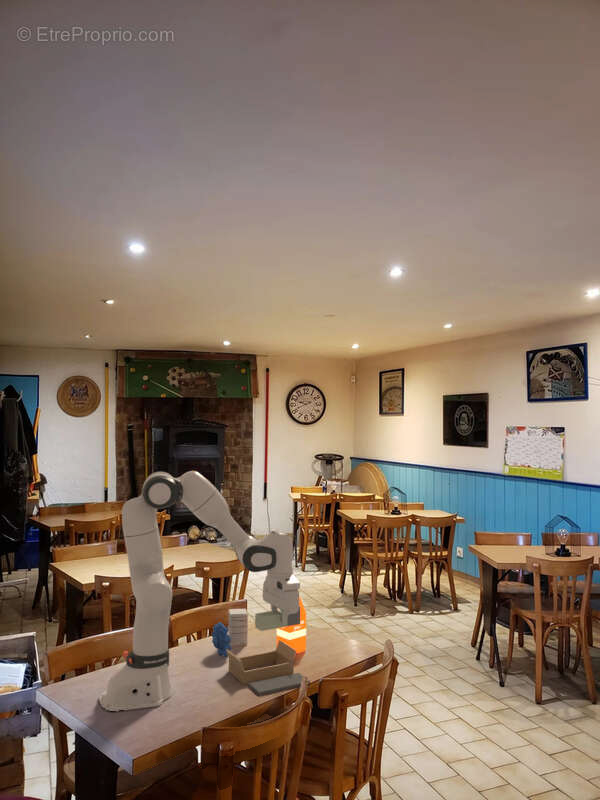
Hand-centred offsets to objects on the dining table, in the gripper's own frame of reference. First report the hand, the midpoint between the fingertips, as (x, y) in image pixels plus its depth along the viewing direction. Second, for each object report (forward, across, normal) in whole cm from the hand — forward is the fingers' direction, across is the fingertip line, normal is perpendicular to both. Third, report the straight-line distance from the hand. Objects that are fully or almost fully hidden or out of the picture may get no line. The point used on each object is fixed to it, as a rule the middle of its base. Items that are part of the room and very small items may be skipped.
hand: (279, 620), depth 206 cm
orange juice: (+22, -26, +19) cm, 39 cm away
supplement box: (+22, -44, +4) cm, 49 cm away
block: (+2, 0, -1) cm, 2 cm away
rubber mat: (+21, +1, 0) cm, 21 cm away
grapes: (+21, -34, -8) cm, 41 cm away
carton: (+21, -12, -1) cm, 25 cm away
